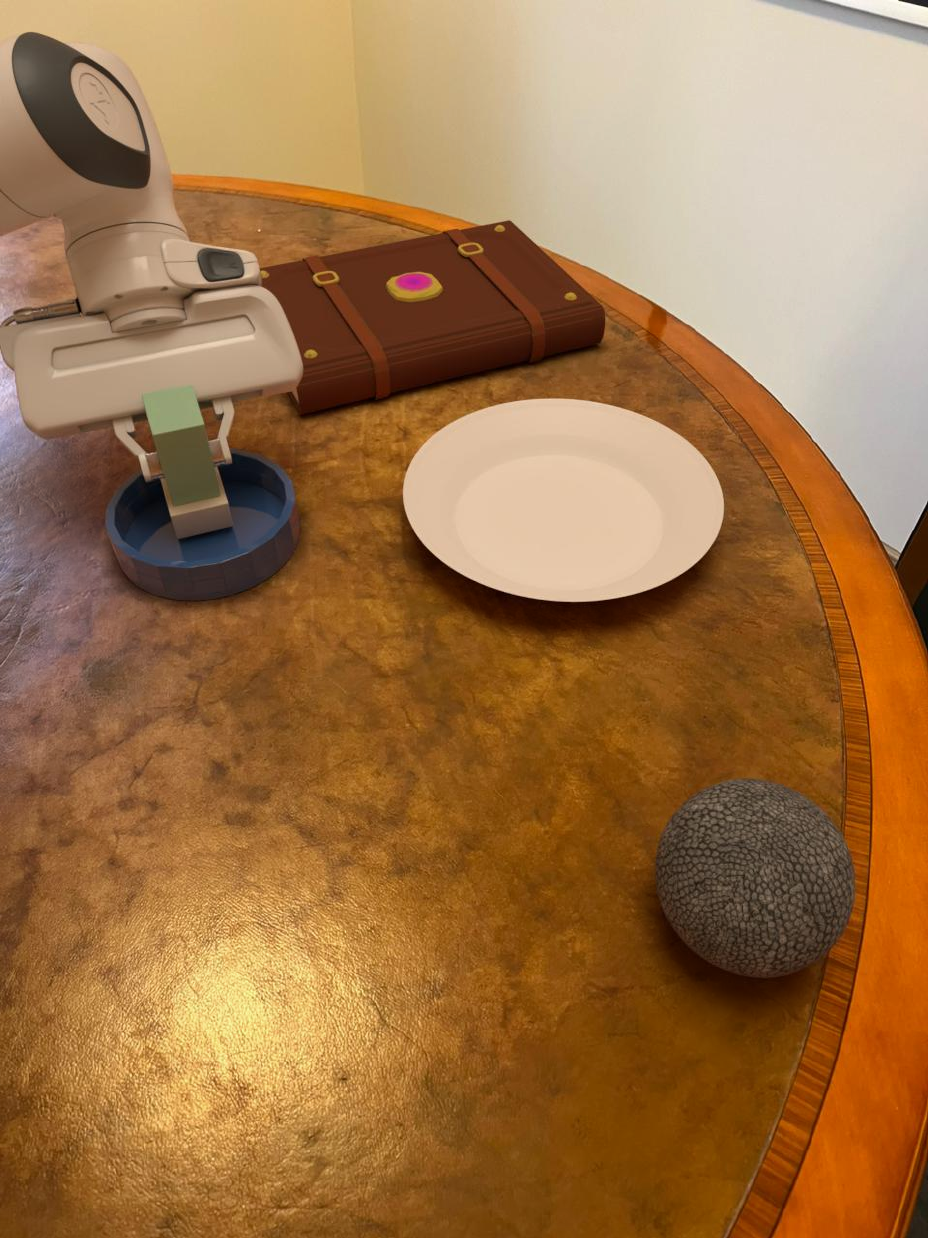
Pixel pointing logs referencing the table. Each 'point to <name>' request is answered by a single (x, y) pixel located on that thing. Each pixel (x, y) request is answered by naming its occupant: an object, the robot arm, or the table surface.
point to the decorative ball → (755, 878)
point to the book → (427, 312)
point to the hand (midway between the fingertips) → (189, 471)
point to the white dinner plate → (563, 500)
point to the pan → (207, 533)
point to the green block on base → (186, 463)
